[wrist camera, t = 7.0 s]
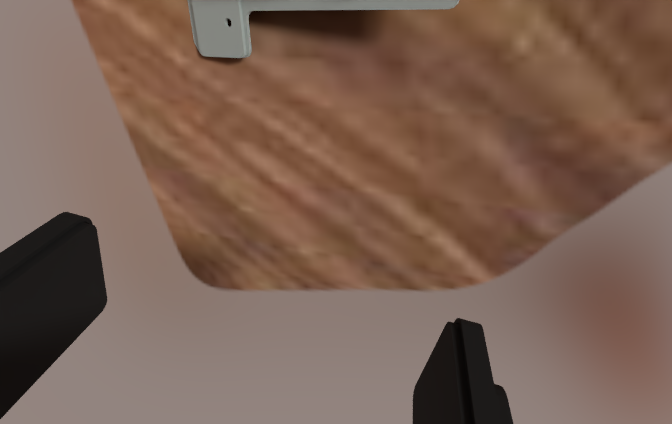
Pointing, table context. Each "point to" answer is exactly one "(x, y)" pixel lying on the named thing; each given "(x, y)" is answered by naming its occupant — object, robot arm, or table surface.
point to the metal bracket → (237, 3)
